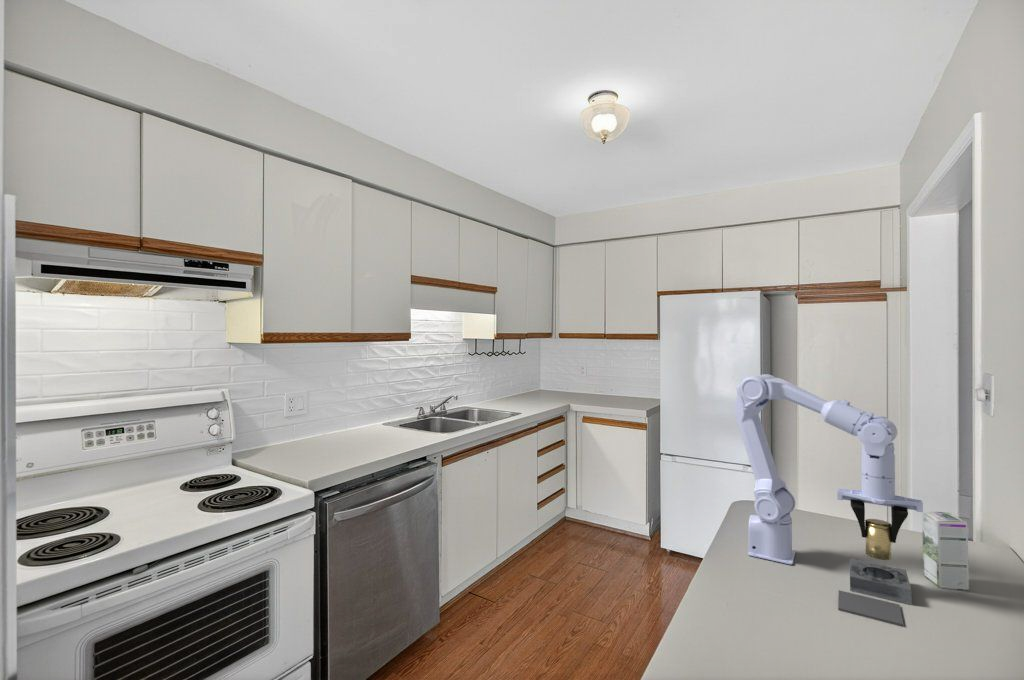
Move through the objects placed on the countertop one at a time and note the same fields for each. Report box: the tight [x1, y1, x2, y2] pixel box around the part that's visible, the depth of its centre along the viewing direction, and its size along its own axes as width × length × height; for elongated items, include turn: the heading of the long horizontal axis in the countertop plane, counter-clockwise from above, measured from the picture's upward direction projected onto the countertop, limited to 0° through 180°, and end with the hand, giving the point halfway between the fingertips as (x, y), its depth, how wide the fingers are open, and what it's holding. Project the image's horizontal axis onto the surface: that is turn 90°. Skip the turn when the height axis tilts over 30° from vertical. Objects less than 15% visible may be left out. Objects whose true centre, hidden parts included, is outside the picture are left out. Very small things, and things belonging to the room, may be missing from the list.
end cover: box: [865, 518, 892, 561], centre depth 104 cm, size 4×4×7 cm
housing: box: [849, 557, 912, 605], centre depth 104 cm, size 10×10×3 cm
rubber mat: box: [837, 590, 904, 627], centre depth 96 cm, size 10×8×1 cm
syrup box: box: [921, 511, 970, 591], centre depth 105 cm, size 6×6×14 cm
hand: (878, 538), depth 104 cm, fingers closed on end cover, 4 cm apart
